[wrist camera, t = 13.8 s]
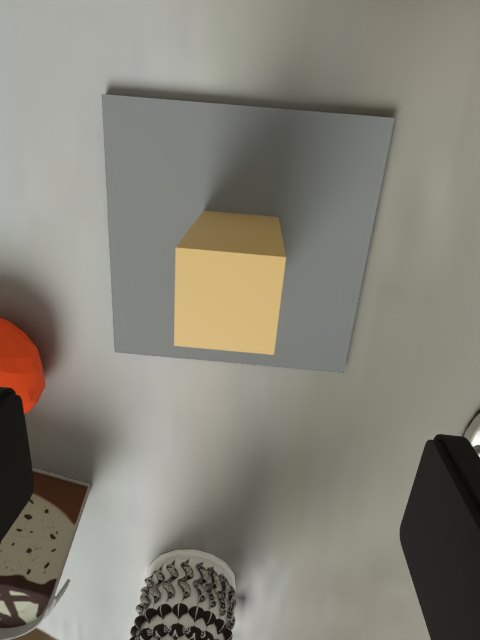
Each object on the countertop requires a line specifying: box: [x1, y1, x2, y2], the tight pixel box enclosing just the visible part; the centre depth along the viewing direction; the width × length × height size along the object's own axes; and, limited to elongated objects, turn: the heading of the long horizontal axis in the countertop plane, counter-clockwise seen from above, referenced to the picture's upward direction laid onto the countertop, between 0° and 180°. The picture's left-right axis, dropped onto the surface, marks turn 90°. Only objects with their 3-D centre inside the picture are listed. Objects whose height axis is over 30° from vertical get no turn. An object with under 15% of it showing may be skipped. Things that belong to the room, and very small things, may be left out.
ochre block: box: [174, 211, 286, 355], centre depth 22 cm, size 4×4×9 cm
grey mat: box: [102, 94, 395, 373], centre depth 27 cm, size 16×16×1 cm
